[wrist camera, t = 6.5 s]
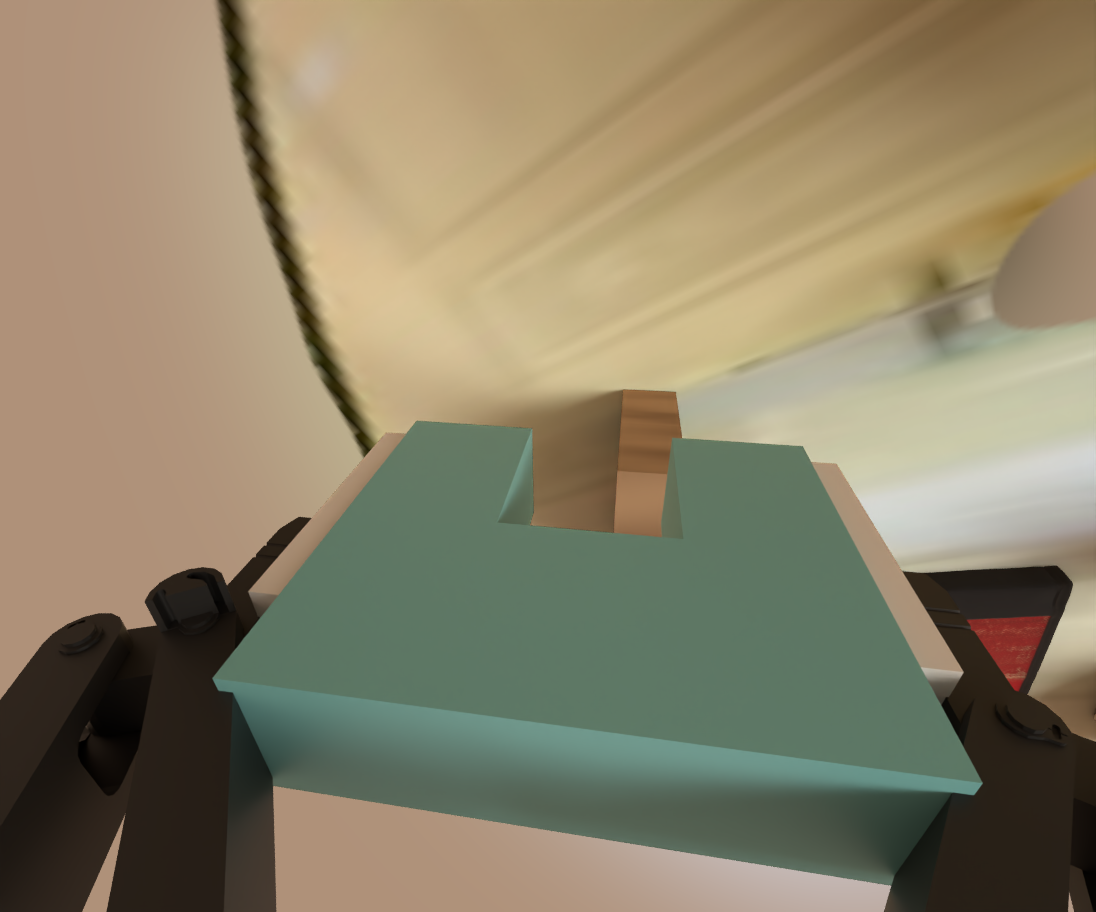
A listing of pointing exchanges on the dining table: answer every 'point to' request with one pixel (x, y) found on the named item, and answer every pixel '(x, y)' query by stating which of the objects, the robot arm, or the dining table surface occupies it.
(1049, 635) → the binder
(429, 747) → the teal plate
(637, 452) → the walnut board
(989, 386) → the dining table surface
